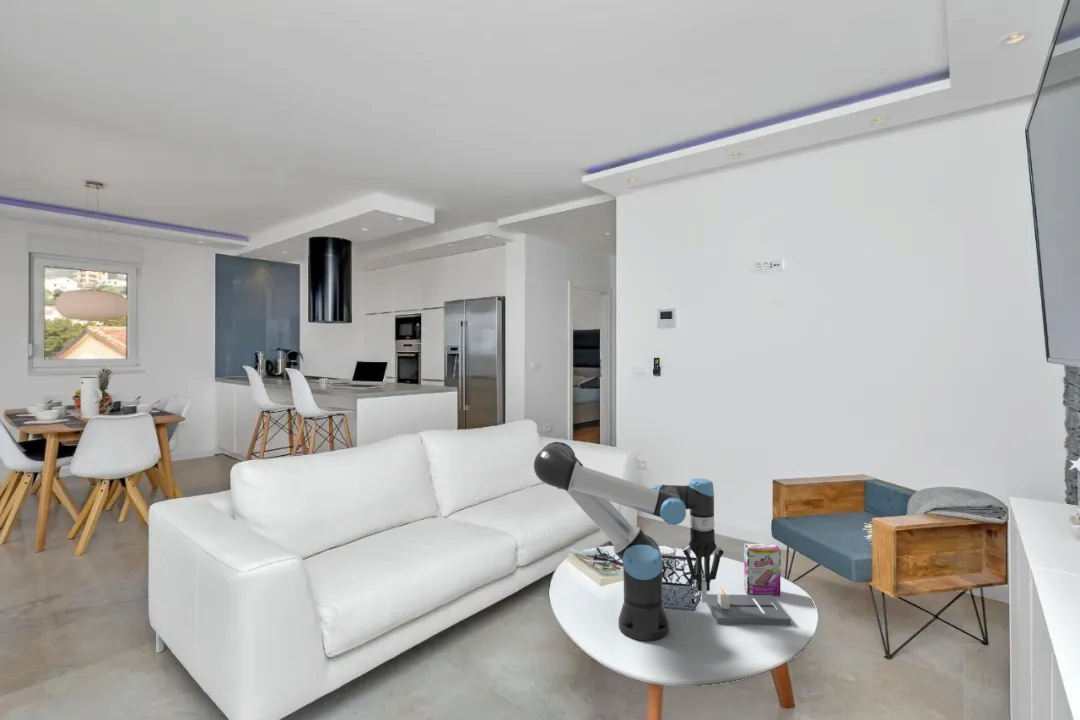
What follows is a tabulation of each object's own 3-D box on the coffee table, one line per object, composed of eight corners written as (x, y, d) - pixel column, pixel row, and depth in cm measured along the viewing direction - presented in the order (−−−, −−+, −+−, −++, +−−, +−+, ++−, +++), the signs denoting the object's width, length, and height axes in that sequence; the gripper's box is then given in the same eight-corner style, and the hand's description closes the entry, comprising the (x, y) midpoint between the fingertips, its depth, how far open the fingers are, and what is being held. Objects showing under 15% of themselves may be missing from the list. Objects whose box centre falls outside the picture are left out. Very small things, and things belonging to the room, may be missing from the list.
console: (717, 624, 163) (717, 617, 163) (705, 600, 179) (704, 593, 179) (791, 625, 162) (791, 618, 162) (771, 600, 178) (771, 594, 178)
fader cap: (721, 608, 169) (721, 595, 169) (717, 601, 174) (717, 588, 174) (729, 608, 169) (729, 595, 168) (725, 601, 174) (725, 588, 173)
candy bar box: (747, 595, 182) (747, 548, 182) (743, 589, 187) (743, 543, 187) (781, 596, 181) (781, 548, 181) (776, 590, 186) (776, 543, 186)
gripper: (684, 531, 168) (685, 605, 168) (726, 531, 167) (727, 606, 167) (679, 523, 175) (680, 594, 176) (719, 524, 175) (720, 595, 175)
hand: (703, 600), depth 171 cm, fingers closed
